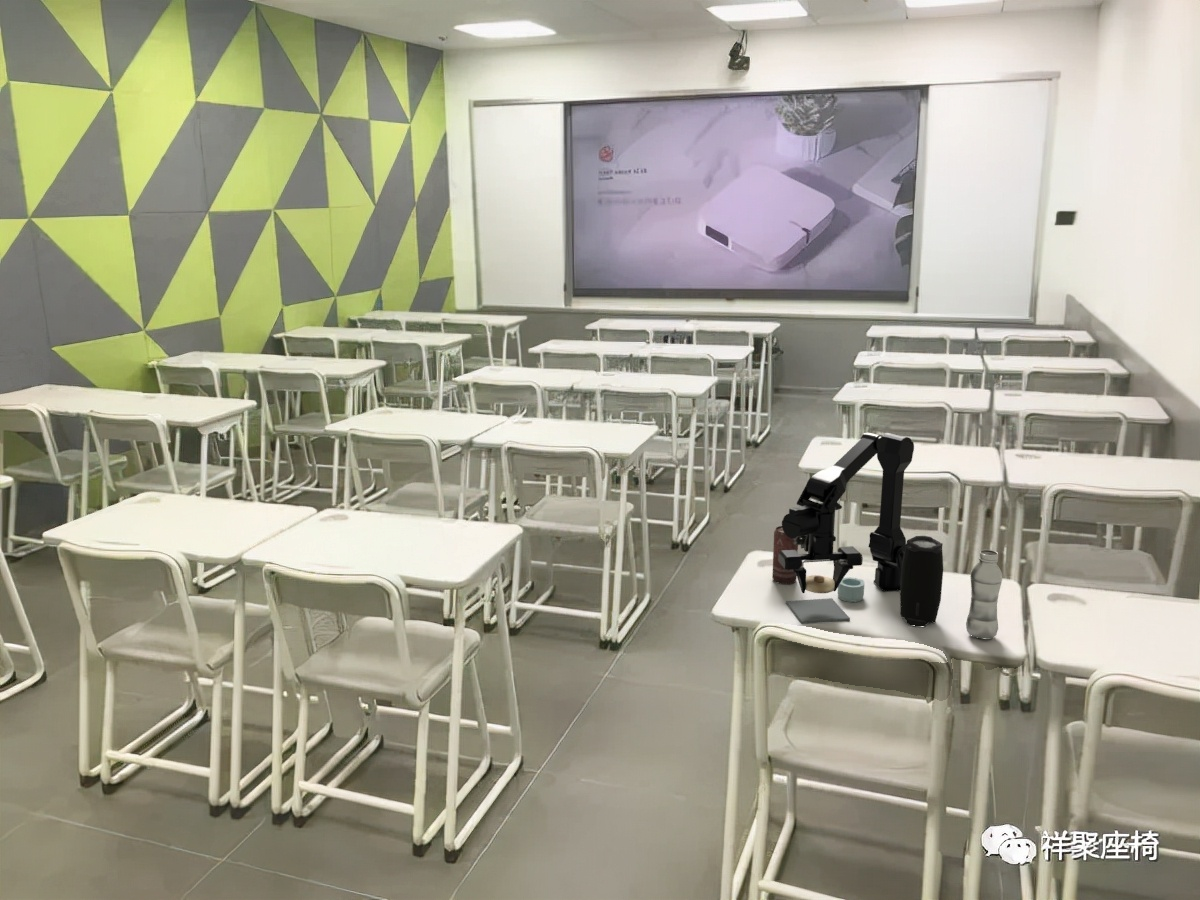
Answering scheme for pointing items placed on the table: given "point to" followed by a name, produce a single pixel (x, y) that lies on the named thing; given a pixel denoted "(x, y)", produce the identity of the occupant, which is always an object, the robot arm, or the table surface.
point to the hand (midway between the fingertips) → (818, 591)
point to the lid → (819, 584)
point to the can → (778, 570)
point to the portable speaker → (921, 580)
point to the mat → (817, 611)
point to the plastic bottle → (984, 596)
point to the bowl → (851, 590)
